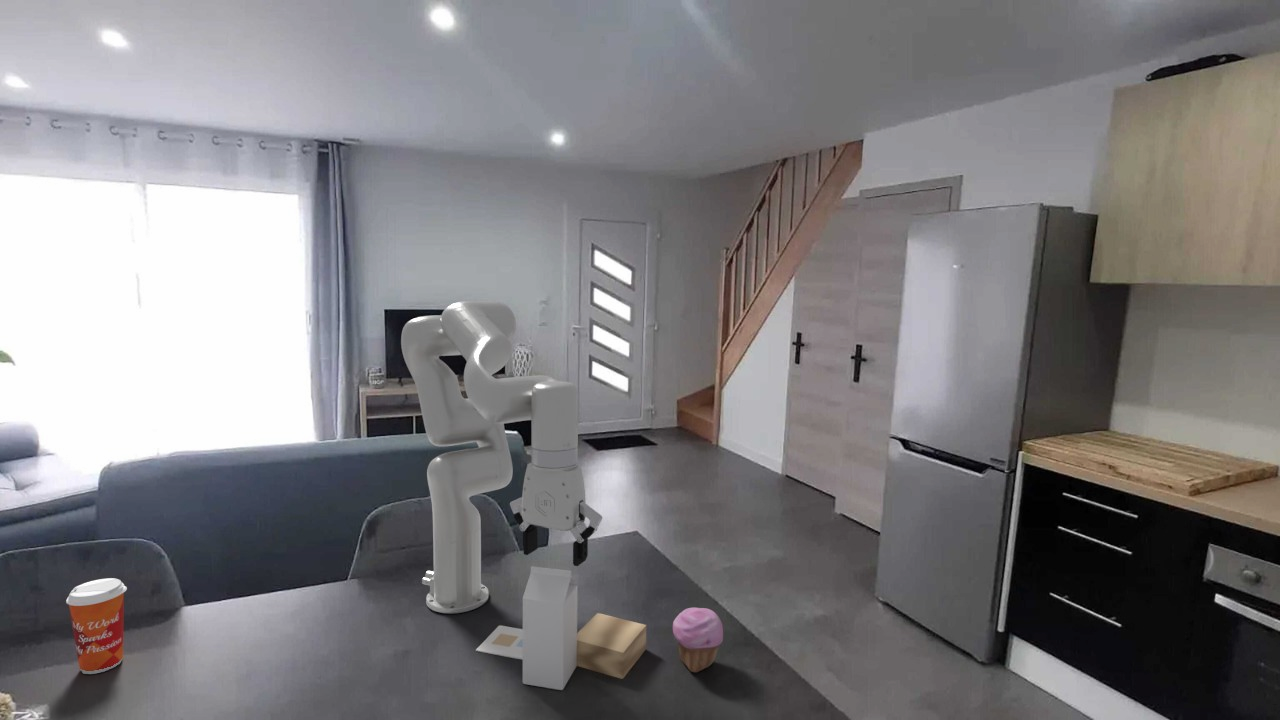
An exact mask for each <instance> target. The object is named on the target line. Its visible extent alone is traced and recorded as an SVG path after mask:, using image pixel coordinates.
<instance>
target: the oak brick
mask: <svg viewBox="0 0 1280 720" xmlns="http://www.w3.org/2000/svg"><path fill="white" fill-rule="evenodd" d="M646 648H647V624H644V623H639V622H636V621H632V620H627V619H623V618H619V617H615V616H612V615H608V614H604V613H601V612H597V613H595V614H594V616H593V617H592V618H591V619H589V621H588V622H587V623H586V624H584V626H582V628H581V629H579V631H577V666H576V667H580V668H582V669H586V670H590V671H593V672H597V673H600V674H604V675H607V676H610V677H614V678H618V679H622V680H623V679H624V678H625V677H626V675H627V674H628V673H629V672H630V670H631V669H632V668H633V666H634V665H635V664H636V663H637V661H638V660H640V658H641V656H642V655H643V654H644V653H645V651H646Z"/></svg>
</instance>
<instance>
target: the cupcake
mask: <svg viewBox="0 0 1280 720" xmlns="http://www.w3.org/2000/svg"><path fill="white" fill-rule="evenodd" d="M672 633H673V635H674V638H675V640H676V641H677V644H678V651H679V659H680V660H681V662H683V664H684V665H685V666H686V667H687V669H688V670H689V672H692V673H698V672H700V671H703V670H704V669H707V668H709V667H710V666H711V665H712V664H713V663H714V661H715V659H716V657H717V653H718V650H719V647H720V645H721V644H722V642H723V640H724V629H723V622H722V620H721V619H720V617H719V616H718V614H717V613H716V612H715V611H713V610H712V609H710V608H706V607H705V608H704V607H689V608H688V607H687V608H685V609H684V610H682V611H681V612H680V613H679V614H678V615H677V616H676V617H675V619H674V620H673V622H672Z"/></svg>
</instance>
